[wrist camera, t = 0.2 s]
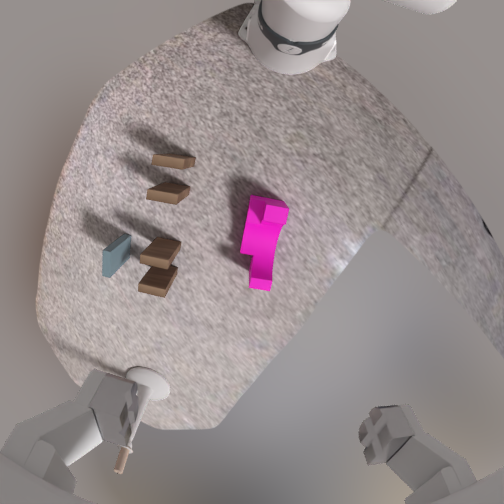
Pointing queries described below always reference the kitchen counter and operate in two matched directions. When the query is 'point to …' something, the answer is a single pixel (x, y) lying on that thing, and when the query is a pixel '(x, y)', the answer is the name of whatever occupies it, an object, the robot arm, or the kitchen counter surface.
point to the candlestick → (142, 403)
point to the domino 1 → (116, 255)
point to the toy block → (262, 238)
